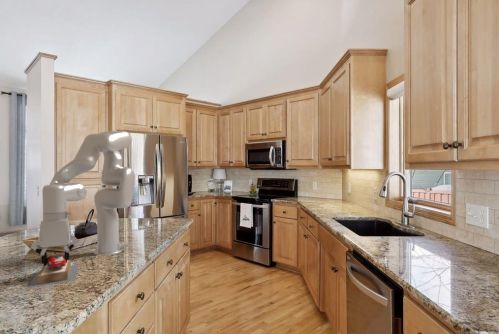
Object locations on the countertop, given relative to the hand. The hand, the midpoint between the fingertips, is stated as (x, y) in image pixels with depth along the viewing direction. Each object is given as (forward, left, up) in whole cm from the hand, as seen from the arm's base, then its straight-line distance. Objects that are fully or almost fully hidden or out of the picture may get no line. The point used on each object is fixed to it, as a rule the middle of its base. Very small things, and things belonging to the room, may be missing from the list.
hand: (55, 263), depth 110 cm
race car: (0, 0, -1) cm, 1 cm away
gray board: (0, 0, -5) cm, 5 cm away
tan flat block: (0, 0, -5) cm, 5 cm away
